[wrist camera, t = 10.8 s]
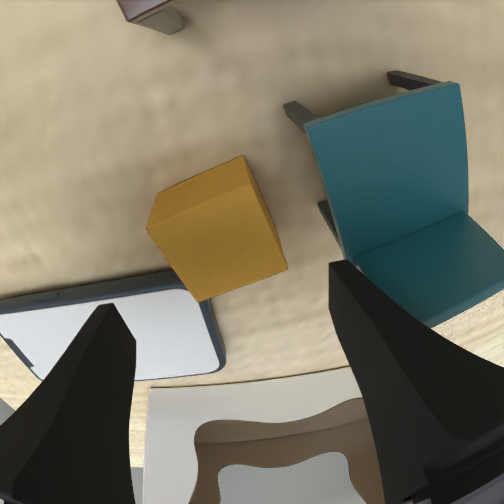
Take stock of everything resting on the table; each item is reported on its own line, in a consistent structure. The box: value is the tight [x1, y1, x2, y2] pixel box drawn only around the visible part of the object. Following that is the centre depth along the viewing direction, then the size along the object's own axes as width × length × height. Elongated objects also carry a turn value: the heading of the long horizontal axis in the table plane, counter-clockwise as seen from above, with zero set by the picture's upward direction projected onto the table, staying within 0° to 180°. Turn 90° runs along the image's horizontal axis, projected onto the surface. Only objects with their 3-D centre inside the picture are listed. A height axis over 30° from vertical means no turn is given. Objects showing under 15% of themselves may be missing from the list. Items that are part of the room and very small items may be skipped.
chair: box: [283, 71, 504, 328], centre depth 11 cm, size 6×6×8 cm
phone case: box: [0, 270, 226, 381], centre depth 19 cm, size 9×2×16 cm
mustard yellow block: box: [146, 156, 288, 302], centre depth 14 cm, size 4×4×3 cm
